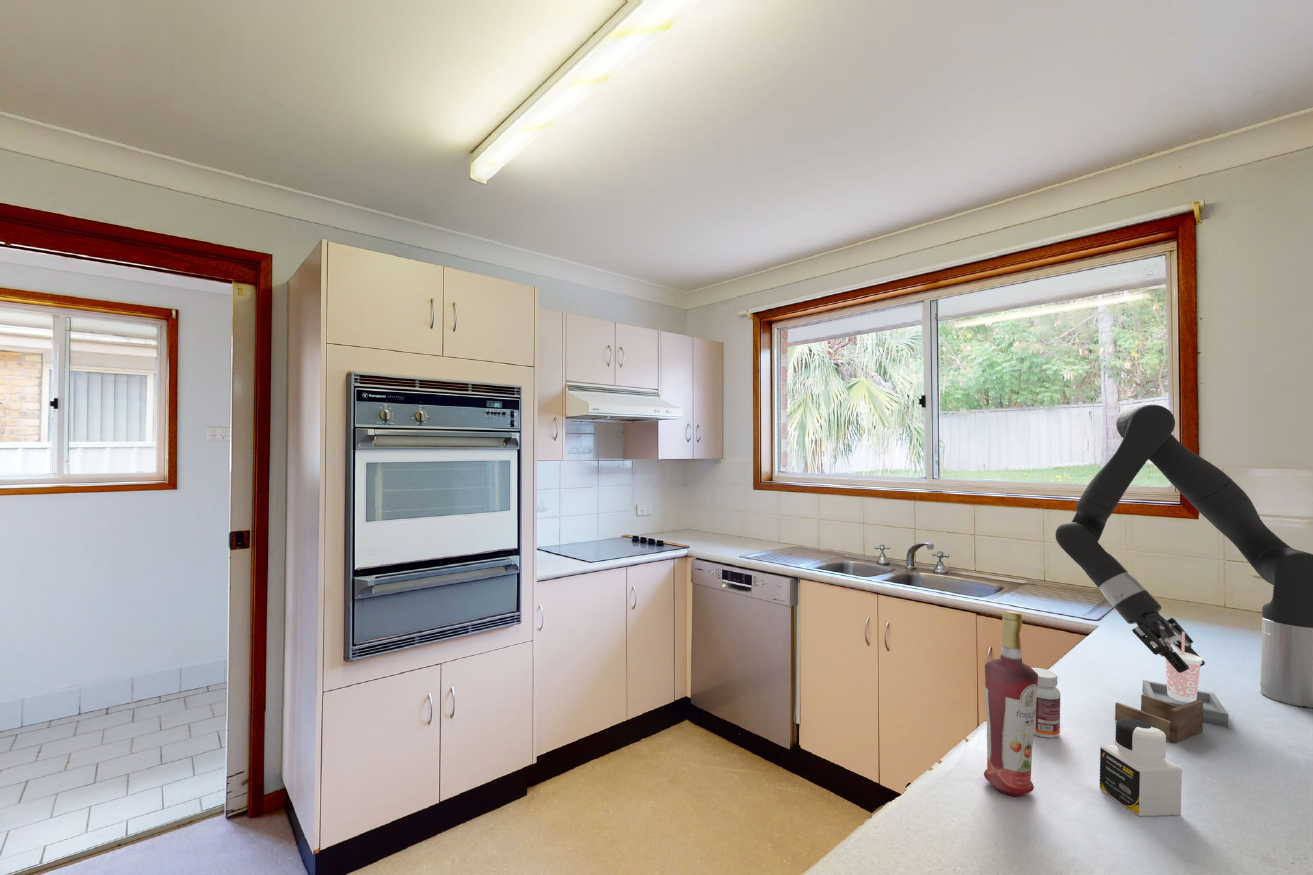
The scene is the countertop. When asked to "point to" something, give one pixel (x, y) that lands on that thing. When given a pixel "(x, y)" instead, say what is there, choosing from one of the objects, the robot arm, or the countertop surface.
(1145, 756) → the medicine bottle
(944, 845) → the countertop surface
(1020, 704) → the liquor
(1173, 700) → the grey tray
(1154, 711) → the walnut bay
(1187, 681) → the beverage cup
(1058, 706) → the pill bottle
